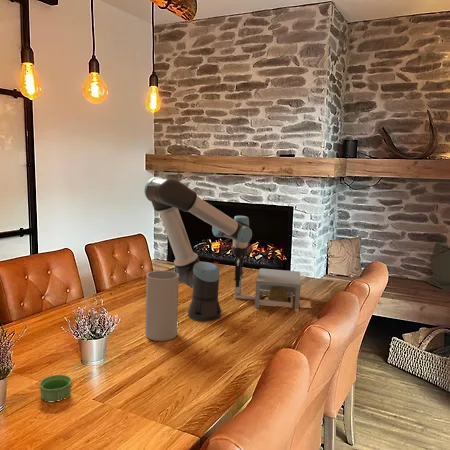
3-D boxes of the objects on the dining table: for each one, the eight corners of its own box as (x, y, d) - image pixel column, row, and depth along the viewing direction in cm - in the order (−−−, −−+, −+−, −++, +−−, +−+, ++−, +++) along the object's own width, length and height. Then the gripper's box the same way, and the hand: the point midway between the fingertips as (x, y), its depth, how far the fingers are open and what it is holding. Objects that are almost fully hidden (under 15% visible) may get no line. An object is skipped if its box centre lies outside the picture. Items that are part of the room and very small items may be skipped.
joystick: (292, 297, 235) (294, 268, 233) (292, 308, 218) (294, 277, 216) (235, 291, 240) (236, 263, 237) (230, 302, 222) (232, 272, 220)
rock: (276, 312, 223) (287, 297, 219) (260, 297, 228) (271, 282, 224) (285, 309, 231) (296, 294, 227) (269, 294, 236) (280, 280, 232)
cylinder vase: (147, 342, 172) (148, 279, 168) (143, 330, 184) (145, 271, 180) (179, 340, 176) (181, 278, 172) (174, 328, 188) (176, 270, 184)
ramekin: (75, 388, 138) (75, 374, 137) (66, 404, 129) (66, 390, 128) (45, 387, 137) (45, 374, 137) (34, 403, 129) (34, 389, 128)
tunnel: (310, 297, 238) (312, 272, 235) (312, 313, 213) (314, 285, 211) (258, 292, 241) (260, 268, 239) (254, 307, 217) (256, 280, 215)
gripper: (245, 250, 218) (243, 297, 222) (249, 244, 234) (246, 287, 238) (230, 249, 219) (228, 295, 223) (234, 243, 235) (232, 286, 239)
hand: (237, 291), depth 230 cm, fingers closed on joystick, 3 cm apart
